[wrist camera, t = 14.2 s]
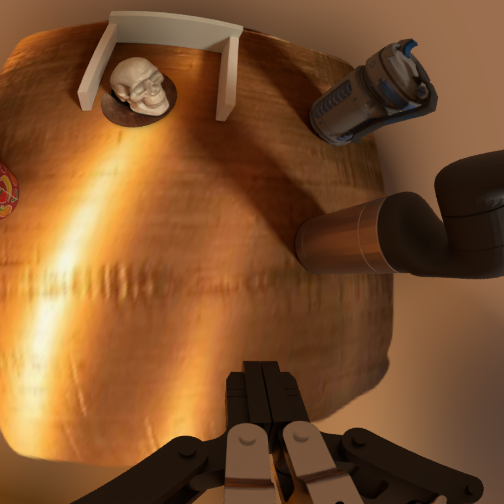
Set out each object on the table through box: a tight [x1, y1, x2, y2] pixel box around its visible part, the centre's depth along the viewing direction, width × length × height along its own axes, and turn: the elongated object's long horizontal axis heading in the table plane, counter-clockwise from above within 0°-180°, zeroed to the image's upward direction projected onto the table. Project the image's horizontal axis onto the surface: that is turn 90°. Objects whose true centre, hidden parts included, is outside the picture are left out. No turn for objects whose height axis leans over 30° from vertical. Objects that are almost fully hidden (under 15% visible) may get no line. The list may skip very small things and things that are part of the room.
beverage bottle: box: [309, 39, 438, 145], centre depth 36 cm, size 10×13×25 cm
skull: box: [102, 57, 177, 127], centre depth 33 cm, size 12×10×10 cm
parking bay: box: [78, 11, 243, 121], centre depth 33 cm, size 23×18×7 cm
